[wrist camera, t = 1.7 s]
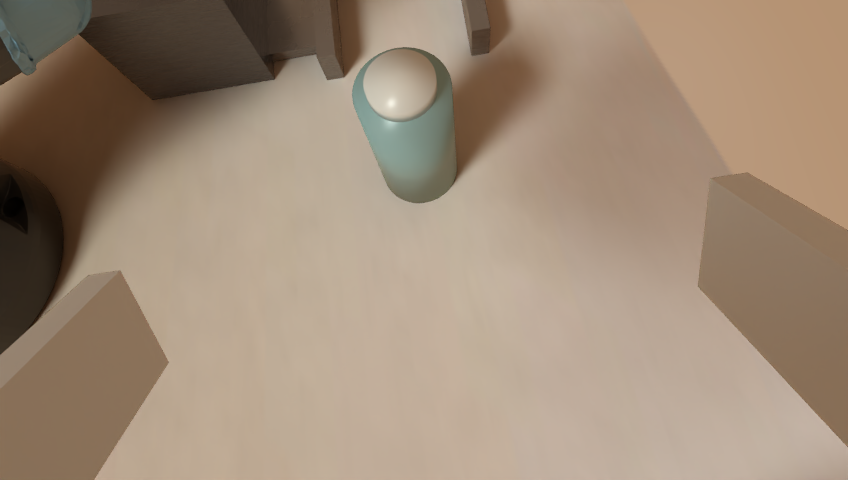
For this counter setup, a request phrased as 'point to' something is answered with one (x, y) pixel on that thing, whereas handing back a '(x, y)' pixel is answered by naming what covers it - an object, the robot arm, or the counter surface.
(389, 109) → the white-capped teal cylinder
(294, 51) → the grey flatbed stand
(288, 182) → the counter surface
